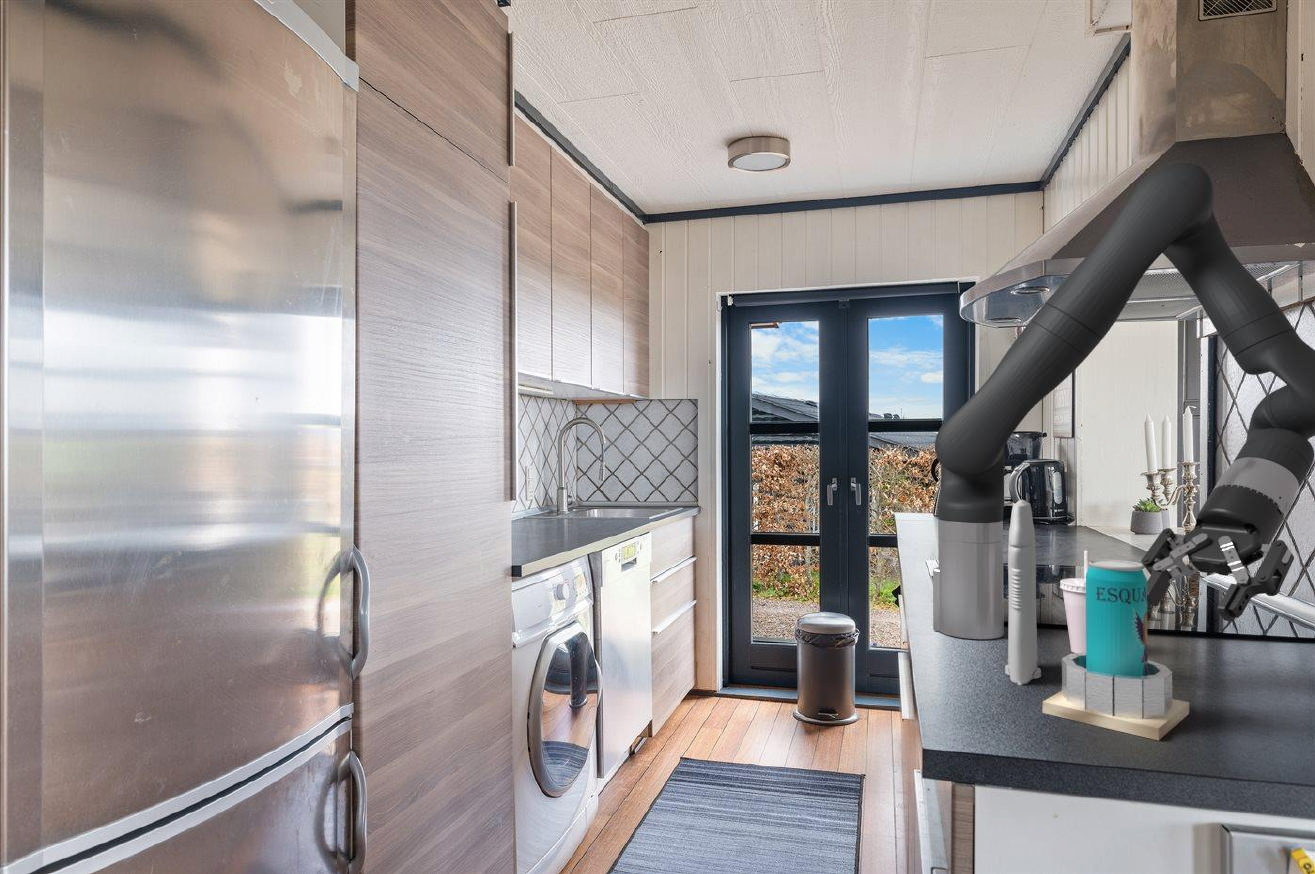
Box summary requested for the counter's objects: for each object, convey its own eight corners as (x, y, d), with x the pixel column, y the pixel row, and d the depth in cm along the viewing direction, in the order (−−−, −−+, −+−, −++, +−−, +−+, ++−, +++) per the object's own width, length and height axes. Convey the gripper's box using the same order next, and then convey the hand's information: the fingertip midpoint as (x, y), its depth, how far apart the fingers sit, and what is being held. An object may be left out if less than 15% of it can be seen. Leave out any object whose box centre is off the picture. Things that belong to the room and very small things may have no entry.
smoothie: (1118, 651, 110) (1117, 550, 110) (1105, 660, 106) (1104, 555, 106) (1068, 643, 115) (1067, 546, 115) (1054, 652, 110) (1053, 551, 110)
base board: (1042, 712, 86) (1042, 701, 86) (1079, 690, 94) (1079, 680, 94) (1158, 740, 78) (1158, 728, 78) (1189, 713, 86) (1189, 702, 86)
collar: (1049, 701, 86) (1048, 664, 86) (1082, 681, 93) (1082, 647, 93) (1154, 725, 79) (1154, 685, 79) (1182, 702, 86) (1182, 665, 86)
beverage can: (1147, 714, 82) (1146, 568, 82) (1084, 704, 85) (1083, 564, 85) (1148, 698, 87) (1146, 561, 87) (1088, 690, 90) (1087, 557, 90)
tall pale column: (1036, 688, 94) (1034, 503, 94) (999, 683, 97) (997, 502, 97) (1045, 666, 103) (1043, 497, 104) (1010, 661, 106) (1009, 496, 106)
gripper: (1173, 479, 100) (1111, 577, 96) (1302, 485, 87) (1236, 599, 83) (1201, 519, 103) (1141, 617, 98) (1330, 531, 89) (1268, 644, 85)
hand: (1185, 608), depth 90 cm, fingers open, 8 cm apart
